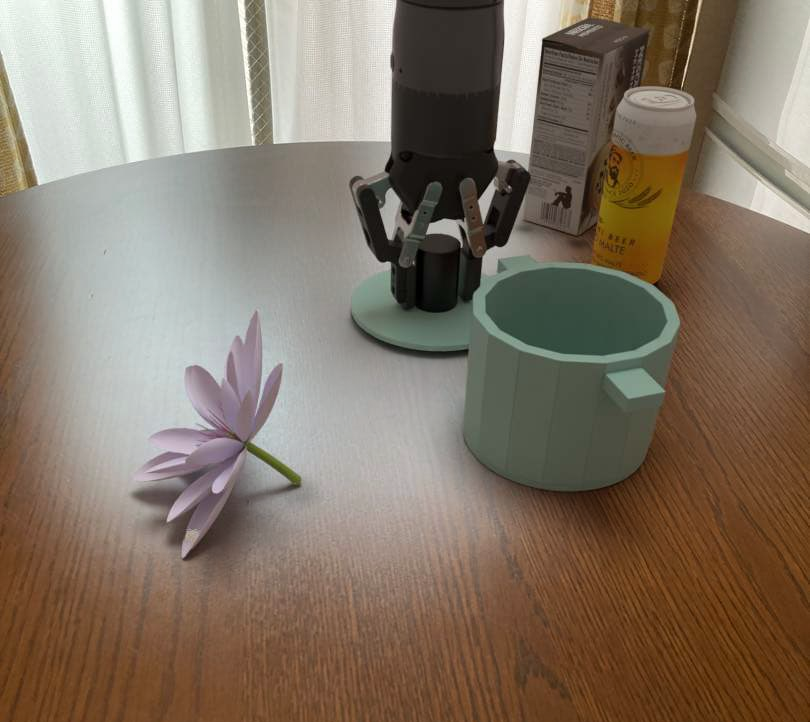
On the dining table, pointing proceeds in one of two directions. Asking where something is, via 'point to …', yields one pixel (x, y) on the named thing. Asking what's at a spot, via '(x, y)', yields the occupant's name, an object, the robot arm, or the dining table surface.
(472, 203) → the robot arm
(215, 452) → the water lily
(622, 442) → the pot
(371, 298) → the lid
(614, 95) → the coffee box
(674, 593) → the dining table surface
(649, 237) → the beer can
